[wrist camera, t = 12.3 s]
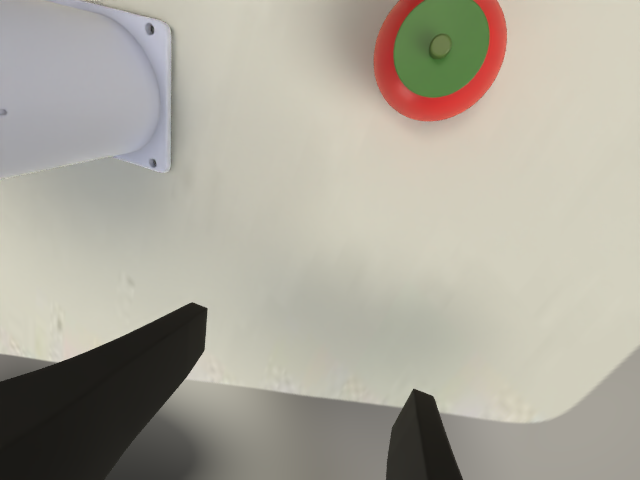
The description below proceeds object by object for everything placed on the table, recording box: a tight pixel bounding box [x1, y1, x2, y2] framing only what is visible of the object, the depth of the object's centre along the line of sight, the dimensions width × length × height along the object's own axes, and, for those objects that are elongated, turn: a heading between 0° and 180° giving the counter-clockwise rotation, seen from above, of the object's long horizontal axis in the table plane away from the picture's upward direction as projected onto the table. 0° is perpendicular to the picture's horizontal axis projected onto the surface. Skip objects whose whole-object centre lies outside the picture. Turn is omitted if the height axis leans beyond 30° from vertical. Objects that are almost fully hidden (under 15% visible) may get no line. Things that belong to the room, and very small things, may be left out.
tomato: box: [374, 0, 507, 121], centre depth 12 cm, size 5×5×6 cm
